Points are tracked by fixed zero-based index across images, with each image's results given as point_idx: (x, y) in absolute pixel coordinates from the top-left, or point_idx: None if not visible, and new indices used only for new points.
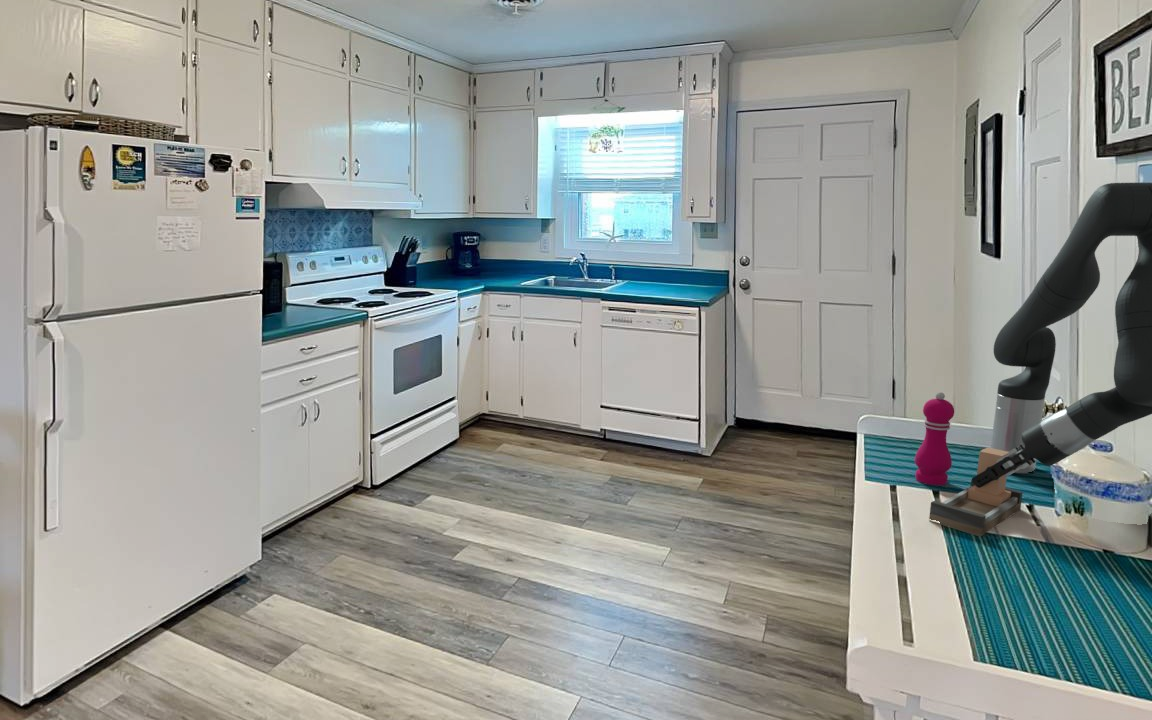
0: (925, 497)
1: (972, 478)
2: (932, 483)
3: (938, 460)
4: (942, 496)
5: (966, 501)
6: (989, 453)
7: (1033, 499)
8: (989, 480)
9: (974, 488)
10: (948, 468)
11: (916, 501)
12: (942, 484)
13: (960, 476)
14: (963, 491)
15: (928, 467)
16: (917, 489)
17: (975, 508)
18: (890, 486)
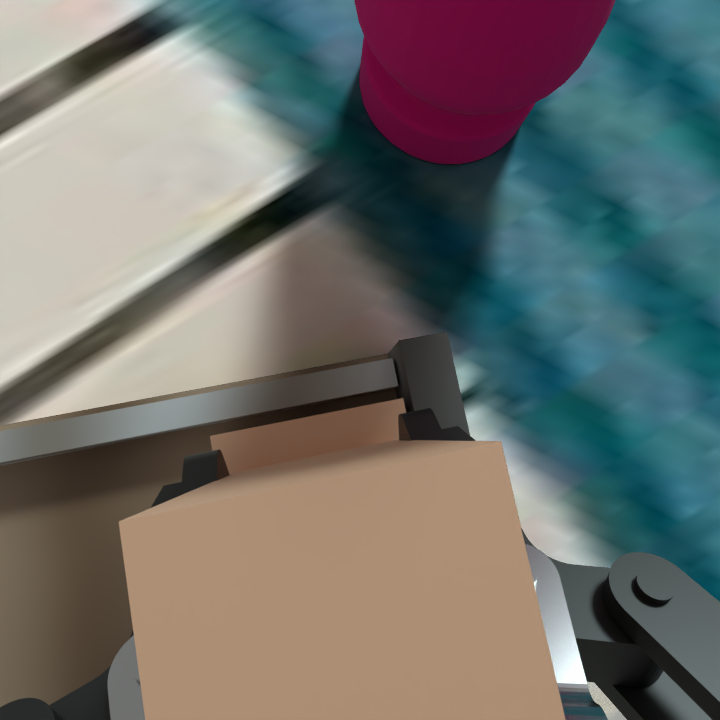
0: (145, 229)
1: (184, 461)
2: (379, 127)
3: (418, 24)
4: (257, 269)
5: (169, 463)
6: (144, 709)
7: (715, 563)
8: None
9: (262, 451)
10: (483, 112)
11: (29, 241)
12: (431, 161)
13: (667, 132)
14: (222, 397)
15: (364, 29)
16: (231, 130)
17: (91, 575)
18: (131, 24)
